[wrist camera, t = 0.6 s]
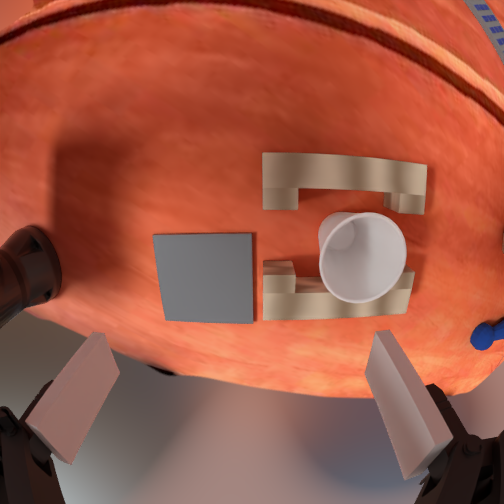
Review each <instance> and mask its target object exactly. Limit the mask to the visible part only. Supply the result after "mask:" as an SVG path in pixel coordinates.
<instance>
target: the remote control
mask: <svg viewBox="0 0 504 504" xmlns="http://www.w3.org/2000/svg"><path fill="white" fill-rule="evenodd" d="M463 1H464V2H465V3H466V5H467V6H468V7H469V9H470V10H471V11H472V13H473V14H474V16H475V17H476V19H477V20H478V21H479V23H480V25H481V26H482V28H483V29H484V31H485V32H486V34H487V36H488V37H489V39H490V41H491V42H492V44H493V46H494V47H495V49H496V51H497V53H498V55H499V57H500V58H501V60H502V62H503V64H504V29H503V28H502V26H501V24H500V23H499V21H498V20H497V18H496V17H495V15H494V14H493V12H492V11H491V9H490V8H489V6H488V5H487V4H486V2H485V1H484V0H463Z"/></svg>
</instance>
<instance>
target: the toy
mask: <svg viewBox="0 0 504 504" xmlns="http://www.w3.org/2000/svg"><path fill="white" fill-rule="evenodd" d="M500 339H504V319H503V321H502V322H500V323H499V324H497V325H495V326H494V327H492V326H490V325H489V324H487V323H481V324H480V325H478V326H477V327H476V329H475V330H474V331H473V334H472V336H471V340H470V342H471V344H472V345H473V346H474V347H475V349H477V350H481V351H482V350H486V349H488V348H489V347H490V346H491V345H492V343H493V341H495V340H500Z"/></svg>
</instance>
